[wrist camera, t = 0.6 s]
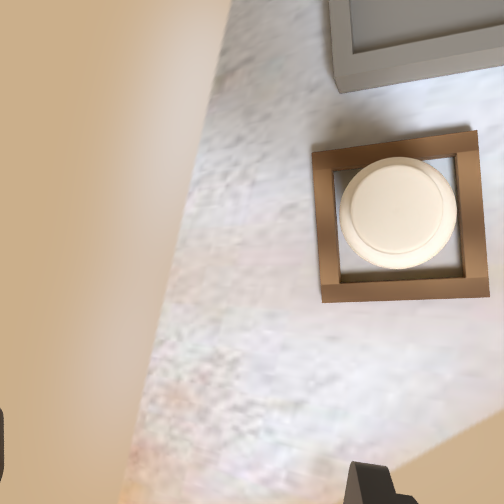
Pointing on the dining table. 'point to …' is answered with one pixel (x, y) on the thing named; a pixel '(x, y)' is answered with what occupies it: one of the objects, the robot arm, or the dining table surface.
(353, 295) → the holder frame
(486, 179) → the dining table surface
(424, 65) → the tray
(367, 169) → the supplement bottle
